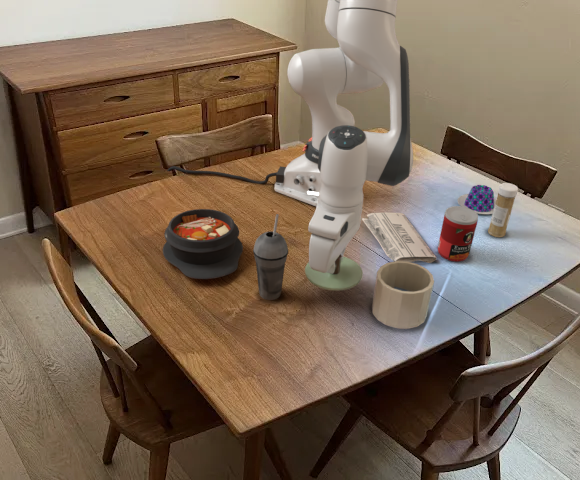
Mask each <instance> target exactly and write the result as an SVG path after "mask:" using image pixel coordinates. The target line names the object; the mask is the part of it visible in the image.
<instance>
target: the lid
mask: <svg viewBox="0 0 580 480" xmlns="http://www.w3.org/2000/svg"><path fill="white" fill-rule="evenodd" d="M335 264H336V270H335V272H334V273H333V274H331V273H327V272H326V273H323V272H319V271H316V270H313V269H311V267H310V265H309V261H308V262H307V263H306V265H305V267H304V276H305V278H306V279H307V280H308V281H309V282H310V284H312V285H314V286H316V287H318V288H320V289H323V290H328V291H346V290H350V289H352V288H355V287H356V286H358V285H359V284H360V283H361V281H362V280H363V277H364V275H363V274H364V273H363V269H362V267H361V266H360V264H359V263H358V262H356V261H355V260H353V259H351V258H349V257H346V256H343V261H342V262H341V254H340V255H339V257H338V258H337V259H336V261H335Z"/></svg>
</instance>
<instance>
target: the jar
mask: <svg viewBox="0 0 580 480" xmlns="http://www.w3.org/2000/svg"><path fill="white" fill-rule="evenodd" d="M434 285H435V279H434V275H433V274H432V272H430V271H429V269H428V268H426V267H424V266H422V265H421V264H418V263H415V262H407V261H389V262H386V263H384V264H383V265H381V266H379V269H378V270H377V272H376V276H375V284H374V290H373V296H372V302H371V303H372V304H371V310H372V311H371V312H372V314H373V316H374V317H375V319H376V320H377V321H379V322H380V323H382V324H383V325H385V326H388V327H390V328H394V329H401V330H409V329H413V328H417V327H419V326H420V325H422V324H423V323H425V321H426V319H427V317H428V312H429V308H430V303H431V298H432V294H433V289H434ZM394 287H398V288H401V289H405V290H409V291H412V292H409V291H401V290H397V289H394Z"/></svg>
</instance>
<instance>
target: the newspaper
mask: <svg viewBox="0 0 580 480" xmlns="http://www.w3.org/2000/svg"><path fill="white" fill-rule="evenodd" d="M366 217H367V218H366ZM366 217H361V221H363V223H364V225H365V226H366V227H367V229H368V230H369V231H370V232H371V234H372V235H373V237H374V238H375V239H376V240H377V242H378V243H379V245H380V247H381V248H382V250H383V251H384V254H385V255H386V256H387V257H388V258H389V259H390V260H391V261H392V262H394V261H407V262H411V263H415V262H418V261H420V262H423V263H426V264H431V263H433V262H435V261H437V258H438V257H437V256H436V255H435V253H434V252H433V251H432V249H431V248H430V246H428V244H427V243H426V242H425V240H424V239H423V238H422V236H421V234H420V233H419V232H418V231H417V230H416V228H415V227H414V226H413V224H412V223H411V222H410V221H409V219H408V218H407V216H406V214H404V213H402V212H388V211H387V212H386V211H385V212H371V213H368V214H366Z"/></svg>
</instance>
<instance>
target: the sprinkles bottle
mask: <svg viewBox="0 0 580 480" xmlns="http://www.w3.org/2000/svg"><path fill="white" fill-rule="evenodd" d="M518 192H519V187H518V186H517V185H515V184H513V183H510V182H503V183H500V184H499V185H498V189H497V196H496V203H495V206H494V210H493V214H491V217H490V223H489V227H488V229H487V233H488V234H489V235H490V236H492V237H494V238H503V237H505V236H506V235H507V228H508V225H509V222H510V220H511V219H510V218H511V216H512V210H513V207H514V203H515V200H516V197H517V196H518Z"/></svg>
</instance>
